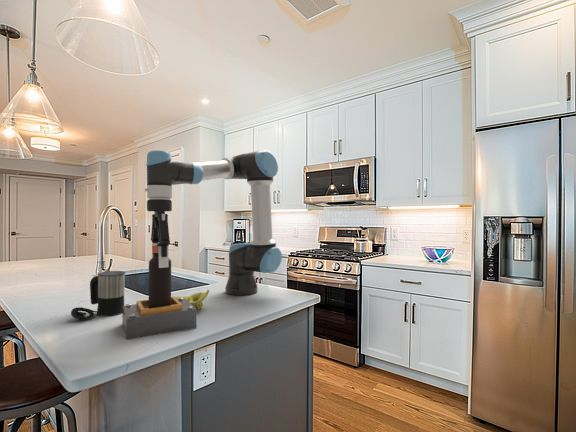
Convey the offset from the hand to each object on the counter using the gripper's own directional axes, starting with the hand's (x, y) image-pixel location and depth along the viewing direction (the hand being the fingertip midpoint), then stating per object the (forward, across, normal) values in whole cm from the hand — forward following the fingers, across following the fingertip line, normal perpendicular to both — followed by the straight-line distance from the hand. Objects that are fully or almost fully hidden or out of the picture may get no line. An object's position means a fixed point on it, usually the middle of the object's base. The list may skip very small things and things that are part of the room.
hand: (159, 264), depth 105 cm
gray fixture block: (+20, 0, 0) cm, 20 cm away
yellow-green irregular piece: (+20, -17, +11) cm, 29 cm away
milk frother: (+20, -23, -17) cm, 35 cm away
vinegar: (+14, 0, 0) cm, 14 cm away
